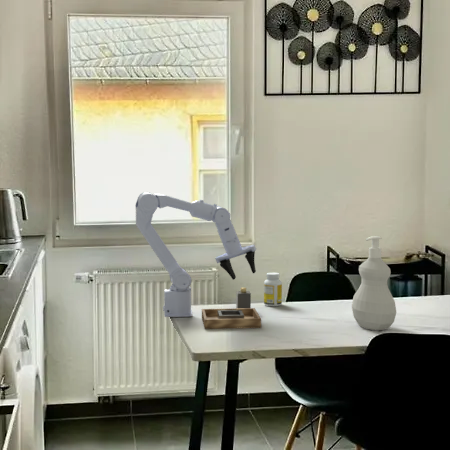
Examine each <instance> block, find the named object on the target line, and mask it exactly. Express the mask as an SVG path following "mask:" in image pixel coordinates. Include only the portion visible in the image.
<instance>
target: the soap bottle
mask: <svg viewBox="0 0 450 450" xmlns="http://www.w3.org/2000/svg"><path fill="white" fill-rule="evenodd" d="M381 239H382V237H381V236H379V235H371V236H369V237H366V238H365V241H371V246H370V247H369V246H368V258H367V259H366V260H365V261H363V262H362V263H361V264H360V265H358V273H359V275H360V279H361V283H360V285H359V288H358V289H356V292H355V293H354V295H353V298H352V303H351V309H352V315H353V318H354V319H355V322H356V323H357V325H358V326H360V328H361V327H362V328H363V329H366V330H371V331H384V330H388V329H390V328H391V326H392V325H393V324H394V323H395V320H396V315H397V308H396V307H397V306H396V301H395V299H394V297H393V294H392V293H391V290H390V289H389V286H388V280H389V279H390V277H391V273H392V272H391V268H390V267H389V266H388V264H387V263H386V262H385V261H384V260H383V259H382V247H380V240H381Z"/></svg>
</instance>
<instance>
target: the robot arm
mask: <svg viewBox="0 0 450 450" xmlns="http://www.w3.org/2000/svg"><path fill="white" fill-rule="evenodd" d="M166 207H169V208H173V209H178V210H182V211H185V212H189V214H190V216H191V217H192V218H196V219H200V220H203V221H208V222H211V221H212V222H213V223H214V224H215V227H216V229H217V233H218V236H219V239H220V241H221V243H222V246H223V249H224V251H225V253H223V254H221V255H218V256H215V258H214V259H215V262H216V263H217V264H219V266H220V267H221V268H222V269H223V270H225V272H226V273H228V275H229V276H230V278H231V279H232V280H236V278H237V277H236V276H237V275H236V274H235V272H234V269H233V267H232V263H231V259H234V258H236V257H239V256H244V255H245V256H244V258H245V259H246V261H247V263H248V265H249V267H250V270H251V272H252V274H255V273H256V271H257V270H256V264H255V254H256V250H257V248H256V247H257V246H256V245H255V244H251V245H246V246H243V245H242V244H241V241H240V239H239V236H238V234H237V232H236V229H235V227H234V224H233V222H232V220H231V213H230V212H229V210H227V209H226V208H224V207H222V206H220V205H218V204H216V203H213V204H211V203H208V202H205V200H204V199H199V200H197V199H196V200H195V201H192V202H190V201H186V200H183V199H180V198H177V197H173V196H170V195H167V194H162V193H157V192H155V193H151V192H148V191H145V192H144V191H143V192H142V193H140V194H139V195H138V197H137V200H136V202H135V225H136V227H137V229H138V230H139V232H140V233H141V235H142V236H143V237H144V239H145V240H146V242H147V243H148V245H149V247H150V248H151V249H152V251H153V252H154V254H155V255H156V257H157V259H159V261H160V263H161V264H162V265H163V267H164V269H165V270H166V271H167V273H168V276H169V280H170V282H171V283H172V284H171V285H170V286H169V289H167V288H166V289H164V290H163V291H164V292H163V293H164V294H163V297H164V299H163V300H164V301H163V303H164V304H163V307H162V309H163V313H164V314H163V315H164V317H165V318H185V317H193V311H192V287H191V285H192V277H191V275H190V274H189V273H188V271H186V269H184V268H183V267H181V266H180V264H179V263H178V261H177V259H176V258H175V257H174V255H173V254H172V252H171V251H170V250H169V248H168V247H167V245H166V244H165V242H164V241H163V239H162V238H161V236H160V235H159V233H158V232H157V230H156V229H155V227H154V226H153V225H152V220H153V216H154V214H155V213H156V212H157V211H156V210H157V209H158V208H159V209H163V208H166ZM242 246H243V247H242Z"/></svg>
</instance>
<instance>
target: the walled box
mask: <svg viewBox="0 0 450 450" xmlns="http://www.w3.org/2000/svg"><path fill="white" fill-rule="evenodd" d="M217 310H242V312H243V314H244V319H218V318H217ZM201 320H202V324H203V328H204V330H217V329H218V330H221V329H222V330H224V329H225V330H227V329H230V330H232V329H261V328H262V318H261V316H260V315H259V313H258V311H257V310H256V308H255V307H252V308H234V307H233V308H202V309H201Z"/></svg>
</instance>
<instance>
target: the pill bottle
mask: <svg viewBox="0 0 450 450" xmlns="http://www.w3.org/2000/svg"><path fill="white" fill-rule="evenodd" d="M265 277H266V279H265V280H264V281H263V304H264V305H265V306H267V307H279V306H281V305H282V302H283V298H282V297H283V296H282V295H283V294H282V293H283V290H282V289H283V282H282V280H281V279H279V278H280V273H279V272H275V271H274V272H267V273H266V276H265Z"/></svg>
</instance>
